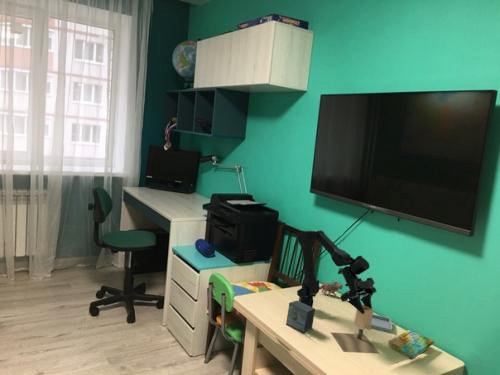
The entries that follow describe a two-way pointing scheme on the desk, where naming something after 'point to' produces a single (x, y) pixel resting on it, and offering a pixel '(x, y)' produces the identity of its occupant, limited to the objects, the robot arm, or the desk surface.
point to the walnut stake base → (354, 342)
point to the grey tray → (381, 323)
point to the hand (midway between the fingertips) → (367, 312)
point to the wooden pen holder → (364, 318)
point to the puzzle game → (410, 343)
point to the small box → (300, 316)
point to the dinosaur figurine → (331, 287)
